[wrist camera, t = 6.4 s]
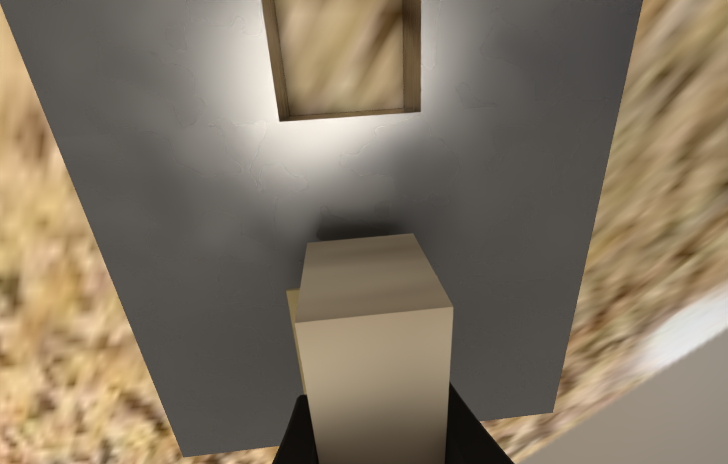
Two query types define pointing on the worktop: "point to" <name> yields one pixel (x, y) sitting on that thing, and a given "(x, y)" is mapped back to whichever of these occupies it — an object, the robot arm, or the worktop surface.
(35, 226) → the worktop surface
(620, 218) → the worktop surface
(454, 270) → the charcoal cover panel
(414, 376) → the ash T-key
